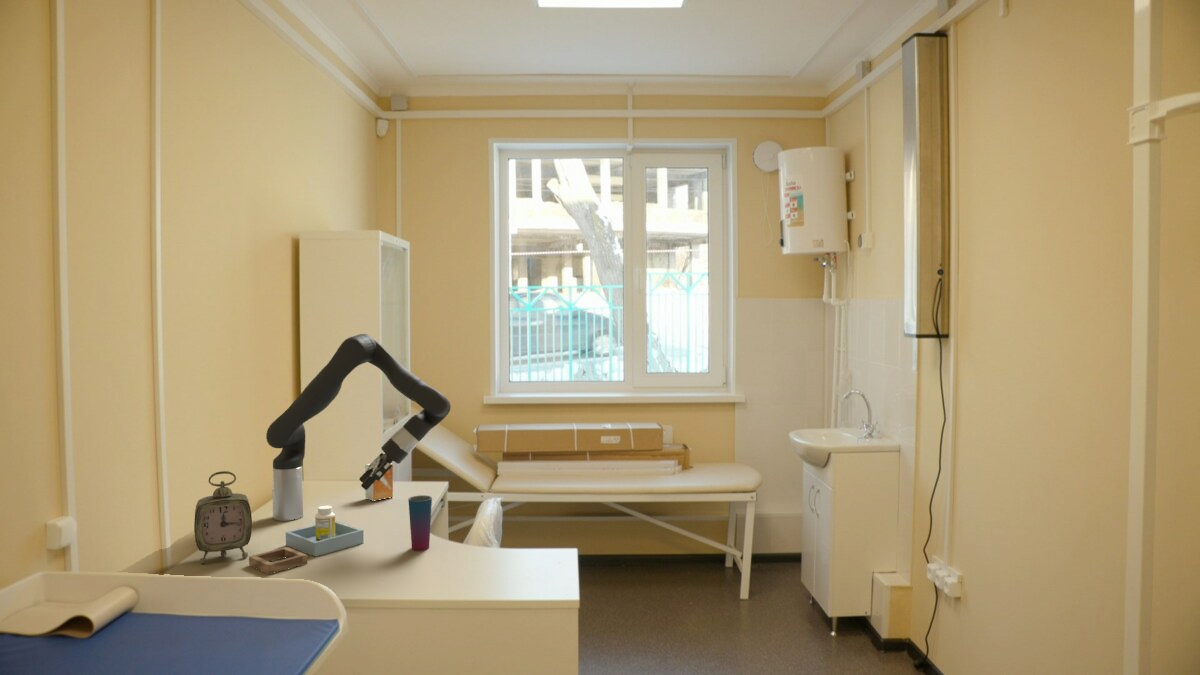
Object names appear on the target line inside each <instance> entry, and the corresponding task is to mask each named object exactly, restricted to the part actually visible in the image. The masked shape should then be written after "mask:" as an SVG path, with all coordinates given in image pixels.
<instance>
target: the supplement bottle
mask: <svg viewBox="0 0 1200 675" xmlns="http://www.w3.org/2000/svg"><path fill="white" fill-rule="evenodd" d="M335 521H336V514H335V513H334V512H333V507H332V505H320V506H318V507H317V513H316V514H315V525H316V541H320V540H324V539H328V538H331V537H335Z"/></svg>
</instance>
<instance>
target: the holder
mask: <svg viewBox="0 0 1200 675" xmlns="http://www.w3.org/2000/svg"><path fill="white" fill-rule="evenodd" d="M283 557H286V558H287V559H286V558H283ZM279 558H282V559H281V560H280V559H279ZM276 559H278V560H276ZM272 560H275V561H272ZM269 561H271V562H269ZM306 563H307V564H308V554H307V553H304V552H301V551H299V550H296V549H294V548H291V547H289V546H285V547H280V548H276V549H273V550H269V551H264V552H261V553H258V554H257V553H256V554H253V555H250V556H248V564H249V565H250V566H249V565H248V566H249V567H251V566H252V567H251V568H253V567H255V568H254V569H256V568H257V569H256V570H258V569H259V570H258V571H260V570H262V571H263V573H265V574H267V573H268V575H269V574H270V575H272V574H271V573H273V574H275V573H274V572H277V571H280V572H282V571H281V570H284V571H286V570H285V569H287V570H289V569H288V568H291V567H294V568H296V567H295V566H298V567H300V566H299V565H301V566H303V565H302V564H305V565H307V564H306ZM291 569H292V568H291ZM262 571H261V572H262ZM277 573H278V572H277Z"/></svg>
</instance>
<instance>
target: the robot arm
mask: <svg viewBox="0 0 1200 675" xmlns="http://www.w3.org/2000/svg"><path fill="white" fill-rule="evenodd" d="M366 363H369V364H371V365H373V366H375V367H376V368H377V369H379V370H380V371H381V372H383V374H384V375H385V377H386V378H387V379H388V381H389V383H390V384H391V385H392V386H393V388H395V390H396V391H398V392H399V393H401V394H402V395H403V396H404V397H406V398H407V399H408V400H410V401H413V402H415V403H416V404H417V405H418V406H420V407H421V409H422V408H423V409H422V410H421V411H419V413H417V414H414V415H412V416H411V417H409V418H410V419H408V421H406V422H405V423H404V424H403V426H401V427H400V428H399V429H397V431H396V432H395V433H393V435H391V437H390V438H389V439H388V440H387V441H386V442H385V443H384V444H383V445H382V446H381V450H382V451H383V452H381V453H379V454H378V456H376V458H375V459H374V460H373V461H372V462H370V463H369V464H370V465H369V466H368V469H367V471H366V472H364V473H363V474H362V475H361V476H360V477H359V481H360V482H361V483H362V484H360V486H361V488H362V489H364V490H367V489H368V488H369V487H370V486H371V485H372V484H373V483H374V482H375V481H379V480H380V479H381V478H382V477H383V475H384V474H385V473H386V472H387V471H388V470H389V469H390V468H391V467H392V465H391V464H393V462H394V463H396V464H399V465H400V463H402V461H404V460H405V459H406V457H407V456H408V455H409V454H410V453H411V452H412V451H413V450H414V449H415V448H416V447H417V445H418V444H419V443H420V442H421V441H422V439H424V438H425V437H426V435H427V434H428V433H429V432H430V431H431V430H432V429H434V428H435V427H436V426H437V425H438V424H440V423H441V422H443V420H444V419H445V418H446V417H447V416H448V415H449V413H450V411H451V408H452V407H451V403H450V400H449V399H448V398H447V397H446V396H445V395H444V394H443V393H441V392H440V391H438V390H436V389H435V388H433V387H432V386H430V385H428V384H427V383H426V382H425V381H424V380H423V379H421V378H419V376H417V375H415V374H414V373H412V372H411V371H410V370H408V369H407V368H406V367H405V366H403V364H401V363H400V362H399V361H398V360H397V359H396V358H394V356H392V355H391V354H390V352H389V351H387V350H386V349H385V348H384V346H382V344H380V343H379V341H377V339H375V337H373V336H372V335H370V334H367V333H360V334H357V335H353V336H349V337H348V338H346V339H344V340H343V341H342V342H341V343H340V345H339V347H338V348H337V350H336V351H335V353H334V354H333V356H332V358H330V360H329V361H328V363H327V364H325V366H324V367H323V368H322V369H321V370H320V371H319V372H318V374H316V376H315V377H313V379H312V380H311V381H310V382H309V383H308V384H307V385H306V386H305V388H304V389H303V391H302V392H301V393H299V395H298V396H297V397H296V399H295V400H294V401H293V402H292V403H291V404H290V406H289V407H287V409H286V410H285V411H283V412H282V414H280V415H279V416H278V417H277V418H276V419H275V420H273V422H272V423H271V424H270V425H269V426H268V428H267V431H266V436H265V437H266V442H267V444H268V445H269V447H271V448H273V449H274V448H275V449H281V451H280V453H279V454H278V455H277V456H276V457H274V459H272V460H273V461H272V483H273V484H272V488H273V489H272V516H273V519H274V520H275V521H282V522H283V521H284V522H285V521H294V519H295V520H298V519H301V518H302V517H303V516H304V489H303V484H304V483H303V482H304V481H303V476H304V475H303V462H304V459H305V453H306V428H305V425H304V424H305V423H306V422H307V421H309V420H310V419H312V418H315V417H316V416H317V415H319V414H320V413H321V412H323V411H325V409H327V407H329V405H330V404H331V403H332V402H333V401H334V400H335V399H336V397H337V396H338V395H339V393H340V391H341V388H342V385H343V382H344V381H345V379H346V377H348V375H349V374H351V372H353V371H354V370H355V369H356V368H358V367H359V366H361V365H363V364H366ZM377 474H378V475H377ZM300 517H301V518H300Z"/></svg>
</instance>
